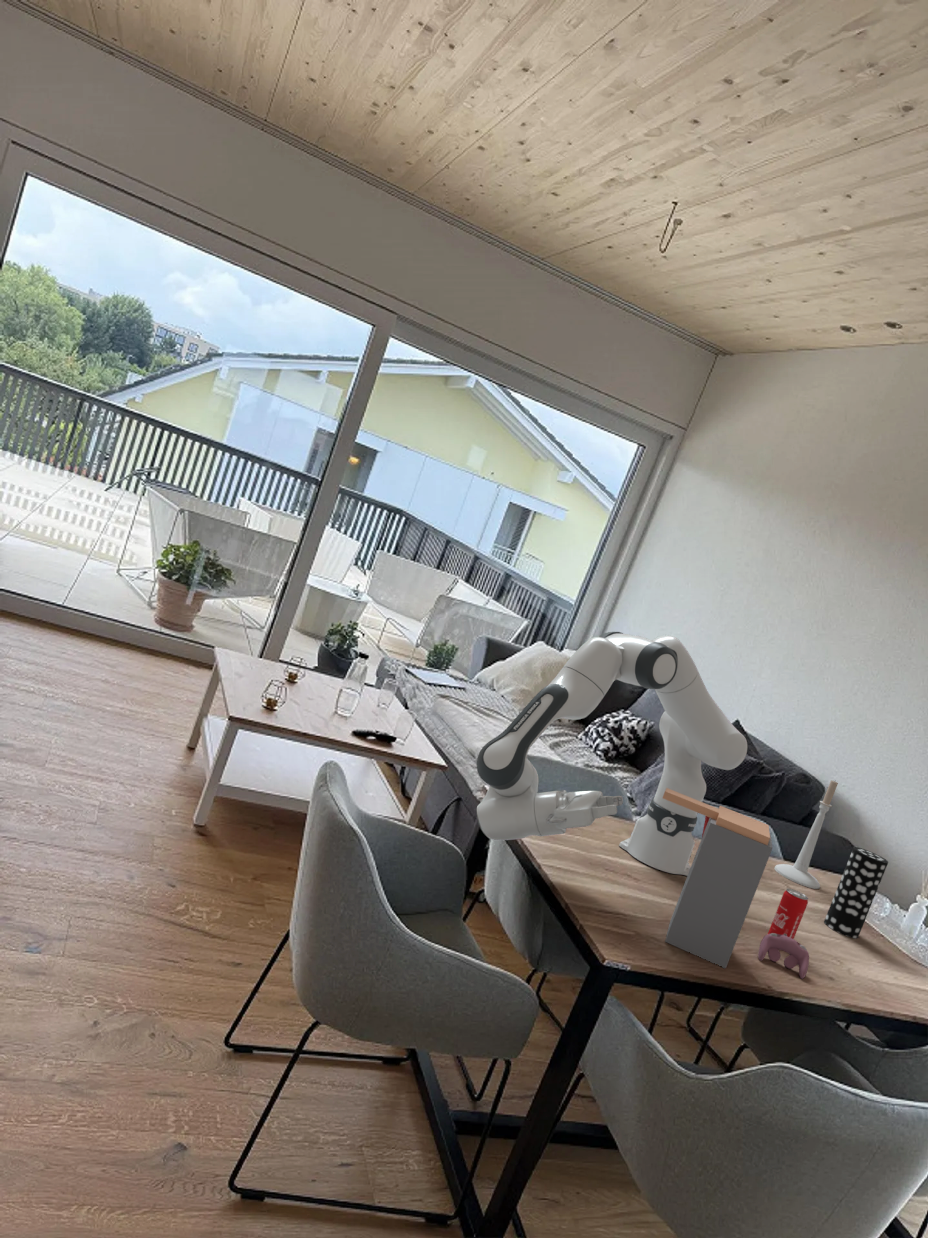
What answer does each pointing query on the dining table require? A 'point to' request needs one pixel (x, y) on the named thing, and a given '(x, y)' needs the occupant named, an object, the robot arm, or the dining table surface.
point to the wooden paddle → (723, 817)
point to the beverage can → (789, 913)
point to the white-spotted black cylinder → (855, 892)
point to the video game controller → (789, 945)
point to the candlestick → (808, 847)
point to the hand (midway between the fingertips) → (619, 804)
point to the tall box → (717, 893)
